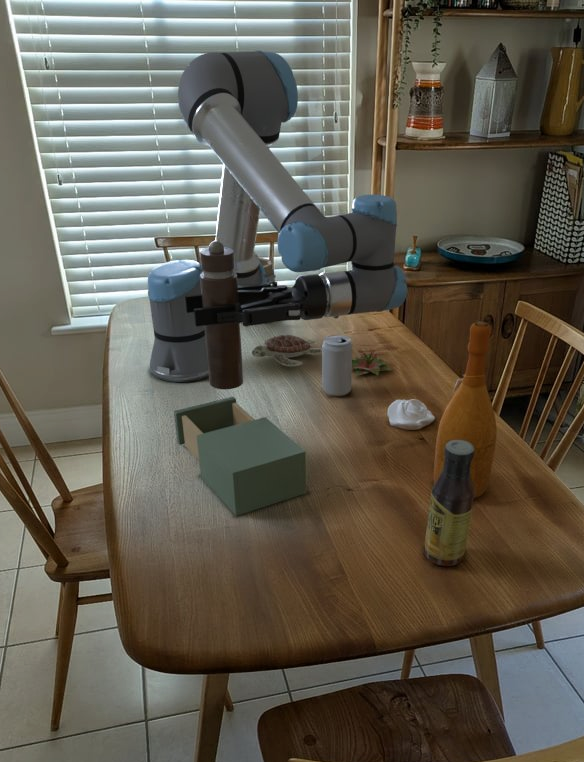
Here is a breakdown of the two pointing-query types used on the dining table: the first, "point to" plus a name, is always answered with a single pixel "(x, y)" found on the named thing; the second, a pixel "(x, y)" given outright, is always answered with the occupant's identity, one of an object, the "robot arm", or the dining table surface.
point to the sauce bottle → (451, 506)
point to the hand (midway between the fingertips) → (190, 310)
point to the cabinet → (252, 465)
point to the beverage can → (336, 365)
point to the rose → (409, 414)
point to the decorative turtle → (285, 349)
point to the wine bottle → (471, 413)
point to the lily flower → (369, 364)
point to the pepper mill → (225, 336)
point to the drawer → (207, 420)
